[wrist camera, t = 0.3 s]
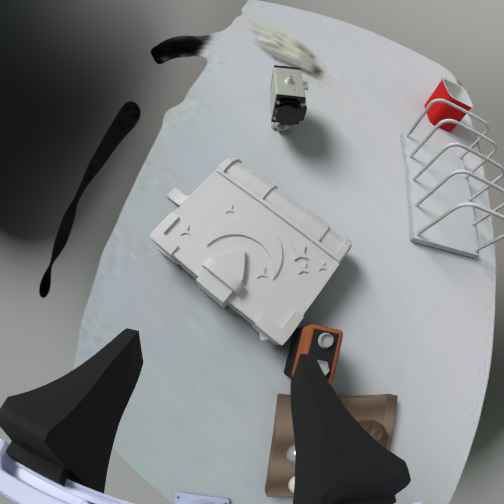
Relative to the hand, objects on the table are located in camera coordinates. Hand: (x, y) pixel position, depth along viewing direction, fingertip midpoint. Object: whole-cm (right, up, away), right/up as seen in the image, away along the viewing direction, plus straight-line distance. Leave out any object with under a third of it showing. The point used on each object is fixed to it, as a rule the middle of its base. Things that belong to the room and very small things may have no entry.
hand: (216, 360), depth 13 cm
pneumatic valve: (+7, +29, +42) cm, 51 cm away
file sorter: (+40, +17, +40) cm, 59 cm away
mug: (+50, +41, +49) cm, 81 cm away
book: (0, +6, +34) cm, 34 cm away
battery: (+9, -10, +29) cm, 32 cm away
